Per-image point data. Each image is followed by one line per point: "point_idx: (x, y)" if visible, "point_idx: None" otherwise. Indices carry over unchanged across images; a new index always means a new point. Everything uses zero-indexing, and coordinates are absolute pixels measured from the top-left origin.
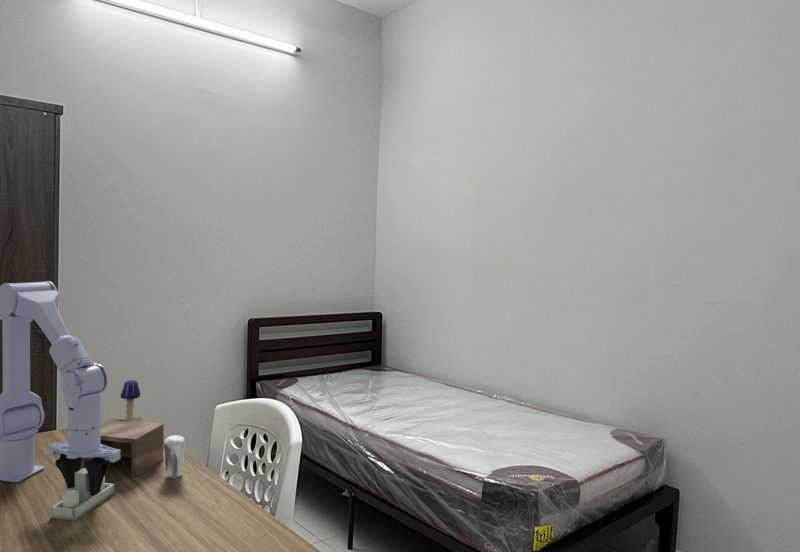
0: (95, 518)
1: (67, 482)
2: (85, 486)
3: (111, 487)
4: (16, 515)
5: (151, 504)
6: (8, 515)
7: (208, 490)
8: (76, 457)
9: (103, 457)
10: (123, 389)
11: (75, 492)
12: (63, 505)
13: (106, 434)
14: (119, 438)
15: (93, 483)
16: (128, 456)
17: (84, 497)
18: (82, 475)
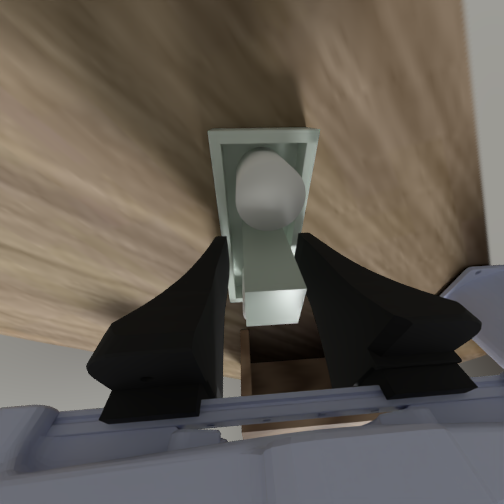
0: (161, 165)
1: (324, 249)
2: (244, 251)
3: (229, 291)
4: (435, 107)
5: (104, 269)
6: (465, 98)
7: (69, 331)
8: (268, 460)
9: (120, 430)
10: None
11: (237, 191)
12: (276, 154)
13: (334, 425)
14: (290, 424)
15: (198, 261)
16: (298, 360)
17: (246, 228)
18: (262, 284)
